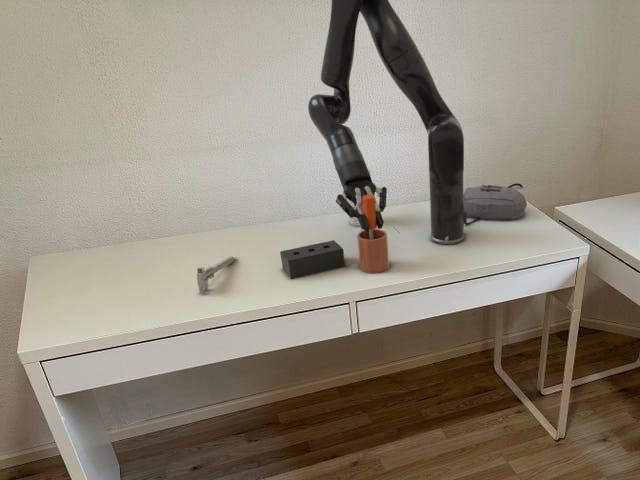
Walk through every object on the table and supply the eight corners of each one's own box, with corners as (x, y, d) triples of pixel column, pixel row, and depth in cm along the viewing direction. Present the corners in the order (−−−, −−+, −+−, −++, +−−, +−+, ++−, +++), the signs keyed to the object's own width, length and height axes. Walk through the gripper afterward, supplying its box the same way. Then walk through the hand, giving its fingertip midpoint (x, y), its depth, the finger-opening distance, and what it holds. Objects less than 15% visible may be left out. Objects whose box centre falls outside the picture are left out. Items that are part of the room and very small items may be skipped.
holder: (282, 269, 174) (279, 251, 171) (335, 257, 181) (333, 240, 178) (290, 278, 169) (288, 260, 167) (345, 266, 176) (343, 248, 173)
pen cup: (369, 259, 180) (367, 227, 175) (394, 264, 177) (392, 231, 172) (354, 270, 174) (351, 237, 169) (379, 275, 172) (377, 242, 167)
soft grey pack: (458, 220, 204) (524, 224, 202) (458, 193, 199) (526, 197, 197) (466, 203, 216) (528, 206, 214) (466, 177, 212) (529, 180, 210)
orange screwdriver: (370, 249, 175) (366, 193, 167) (380, 252, 174) (377, 195, 166) (364, 254, 173) (360, 197, 165) (374, 256, 172) (370, 199, 164)
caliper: (204, 294, 162) (199, 271, 158) (200, 294, 162) (194, 270, 159) (235, 259, 179) (231, 237, 176) (231, 259, 179) (227, 236, 176)
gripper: (327, 163, 164) (351, 227, 162) (380, 155, 170) (403, 217, 168) (321, 178, 170) (344, 240, 168) (373, 170, 177) (395, 229, 175)
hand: (374, 228), depth 168 cm, fingers closed on orange screwdriver, 3 cm apart
